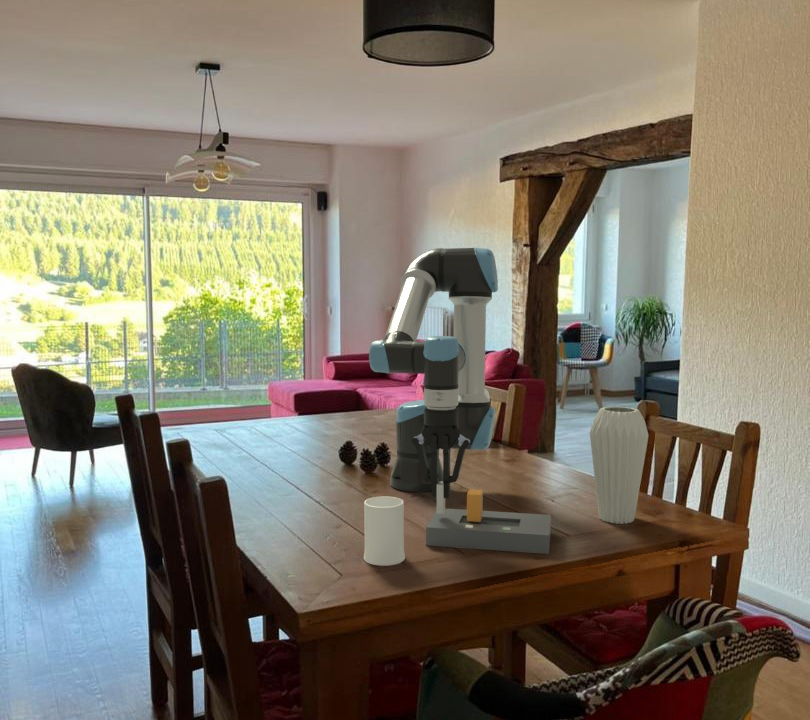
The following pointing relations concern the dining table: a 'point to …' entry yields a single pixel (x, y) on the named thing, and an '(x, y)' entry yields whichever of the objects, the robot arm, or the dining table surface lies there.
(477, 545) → the panel
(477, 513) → the toggle
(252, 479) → the dining table surface
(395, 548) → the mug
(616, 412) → the vase
